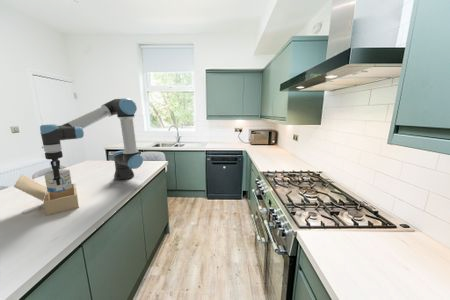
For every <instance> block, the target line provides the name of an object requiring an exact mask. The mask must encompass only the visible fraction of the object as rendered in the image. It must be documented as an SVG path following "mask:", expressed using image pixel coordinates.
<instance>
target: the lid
mask: <svg viewBox="0 0 450 300" xmlns="http://www.w3.org/2000/svg"><path fill="white" fill-rule="evenodd" d="M13 188H15V189H17V190H19V191H22V192H23V193H26V194H28V195H30V196H32V197H34V198H36V199H38V200H40V201H42V202H44V198H45V194H46V190H47V186H45V185H44V184H41V183H40V182H38V181H35V180H34V179H31V178H30V177H29V176H26V175H24V174H20V176H19V178H18V179H17V181H16V182H15V184H14V185H13Z"/></svg>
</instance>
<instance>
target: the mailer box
mask: <svg viewBox="0 0 450 300" xmlns="http://www.w3.org/2000/svg"><path fill="white" fill-rule="evenodd" d="M42 202H43V203H42V204H43V207H44V211H45V216H51V215H55V214H60V213H63V212H66V211H70V210H74V209H78V208H79V207H80V205H79V199H78V192H77V187H76V183H72V188H70V189H67V190H65V191H62V192H59V193H55V192H47V189H46V193H45V197H44V200H43V201H42Z"/></svg>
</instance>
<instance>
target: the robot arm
mask: <svg viewBox="0 0 450 300" xmlns="http://www.w3.org/2000/svg"><path fill="white" fill-rule="evenodd" d="M137 108H138V107H137V105H136V103H135V101H134V100H133V99H131V98H126V97H123V98H115V99H112V100H109V101H107V102H105V103H104V104H102V105H101V106H100V107H98V108H96V109H95V110H93V111H90V112H87V113H85V114H83V115H81V116H79V117H77V118H74V119H72V120H70V121H67V122H66V123H63V124H61V125H57V124H53V123H52V124H41V125H40V126H39V131H40V134H39V135H40V137H41V139H42V140H41V141H42V145H43V146H41V148H42V149H43V151H44V152H45V153H44V157H45V160H51V161H50V166H51V169H52V171H53V175H54V179H53V180H55V185H56V191H58V190H63V188H62V183H61V178H60V173H59V169H61V161H60V159H61V158H63V157H64V156H63V151H62V150H63V149H62V145H61V141H66V140H78V139H82V138H83V137H84V134H85V133H84V130H83V129H85V128H88V127H89V126H91V125H93V124H95V123H97V122H99V121H102V120H103V119H105V118H109V117H110V118H111V117H112V116H117V118H118V119H119V121H120V127H121V135H122V141H123V148H124V149H123V150H118V151H115V152H113V159H114V167H115V170H114V175H113V179H114V180H115V181H125V180H130V179H133V178H134V177H135V173H134V171H133V170H134V169H135V170H137V169H139V168H140V167H141V166H142V165H143V163H144V162H143V161H144V158H143V156H142V155H141V154H140V151H139V149H137V142H136V141H137V140H136V134H135V125H134V118H135V114H136V112H137V110H138V109H137Z"/></svg>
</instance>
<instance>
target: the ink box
mask: <svg viewBox="0 0 450 300" xmlns="http://www.w3.org/2000/svg"><path fill="white" fill-rule="evenodd" d="M59 173H60V178H61V183H62V188H63V190H58V191H56V185H55V180H53V179H54V175H53V170H50V171H46V172H44V173H43V176H44V179H45V180H44V181H45V185H46V186H45V187H47V189H46V190H47V192H55V193H59V192H62V191H65V190H67V189H70V188H72V184H73V183H72V177H71V172H70V169H63V168H60V169H59Z"/></svg>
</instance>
